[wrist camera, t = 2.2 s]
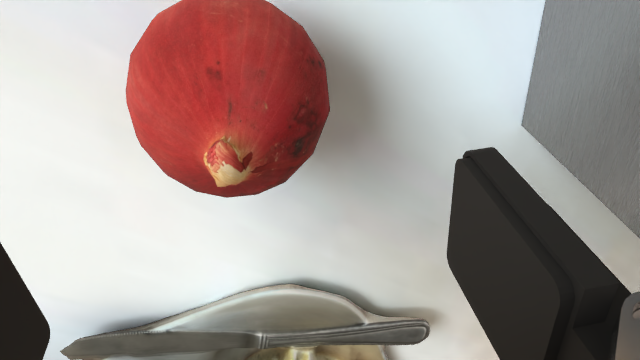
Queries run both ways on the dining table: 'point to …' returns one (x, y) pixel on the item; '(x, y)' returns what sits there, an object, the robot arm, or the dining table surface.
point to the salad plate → (260, 331)
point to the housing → (591, 97)
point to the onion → (227, 95)
